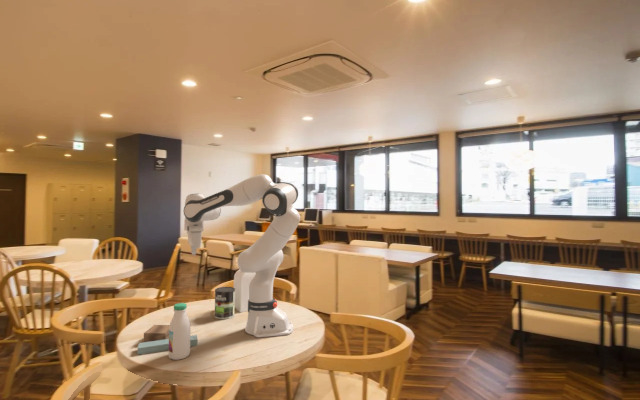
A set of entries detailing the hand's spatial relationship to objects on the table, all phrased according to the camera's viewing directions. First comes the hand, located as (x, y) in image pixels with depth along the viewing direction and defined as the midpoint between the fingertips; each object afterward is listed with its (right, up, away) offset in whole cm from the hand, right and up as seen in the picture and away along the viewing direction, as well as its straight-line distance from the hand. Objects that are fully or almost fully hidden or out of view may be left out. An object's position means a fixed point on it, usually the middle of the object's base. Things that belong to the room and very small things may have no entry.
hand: (193, 254), depth 158 cm
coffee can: (+12, -35, +12) cm, 38 cm away
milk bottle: (+7, -34, -32) cm, 48 cm away
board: (0, -34, -26) cm, 43 cm away
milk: (+20, -35, +25) cm, 47 cm away
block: (-7, -34, -19) cm, 40 cm away
